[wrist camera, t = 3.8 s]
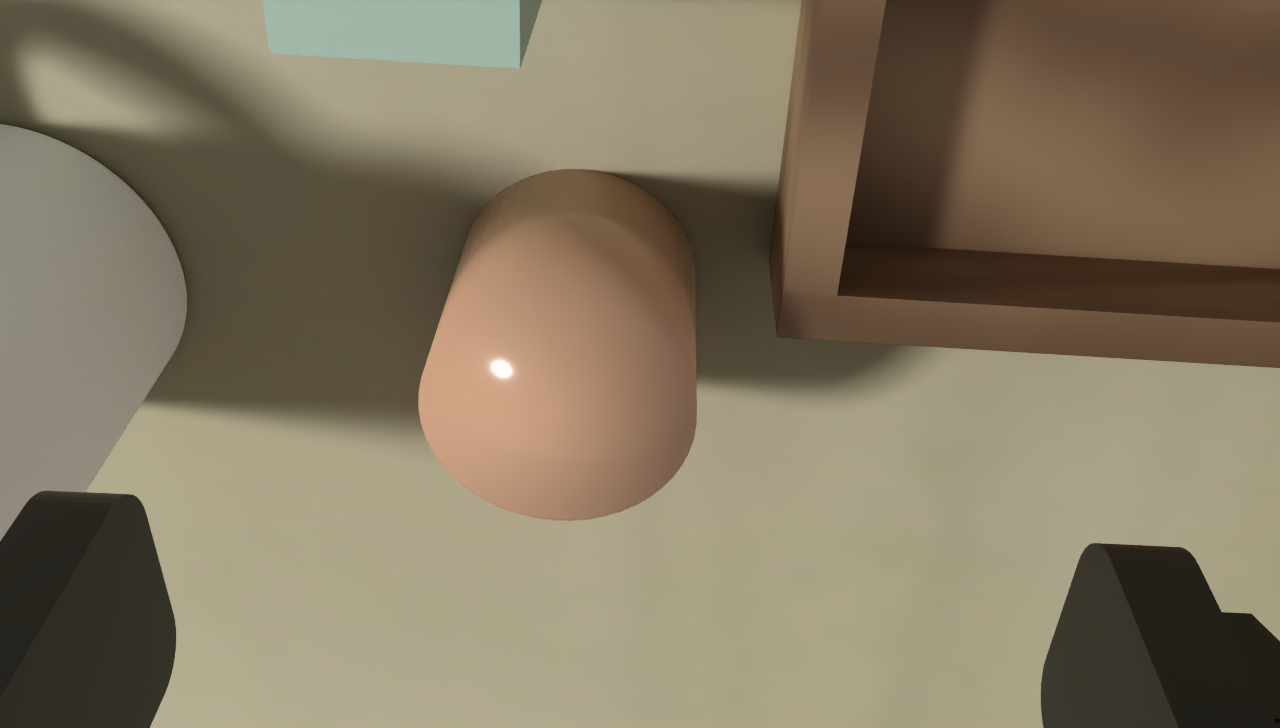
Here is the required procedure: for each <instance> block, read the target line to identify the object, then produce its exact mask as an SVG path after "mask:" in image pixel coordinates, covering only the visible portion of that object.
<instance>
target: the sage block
mask: <svg viewBox="0 0 1280 728" xmlns="http://www.w3.org/2000/svg"><path fill="white" fill-rule="evenodd" d="M541 2H542V0H263V8H264V15H265V23H266V31H267V38H268V46H269V53H272V54H289V55H305V56H322V57H338V58H354V59H371V60H387V61H404V62H420V63H437V64H453V65H470V66H486V67H503V68H519V69H520V67H521V64H522V61H523V58H524V55H525V52H526V49H527V46H528V42H529V39H530V36H531V33H532V30H533V27H534V24H535V21H536V18H537V15H538V11H539V8H540V5H541Z"/></svg>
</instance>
